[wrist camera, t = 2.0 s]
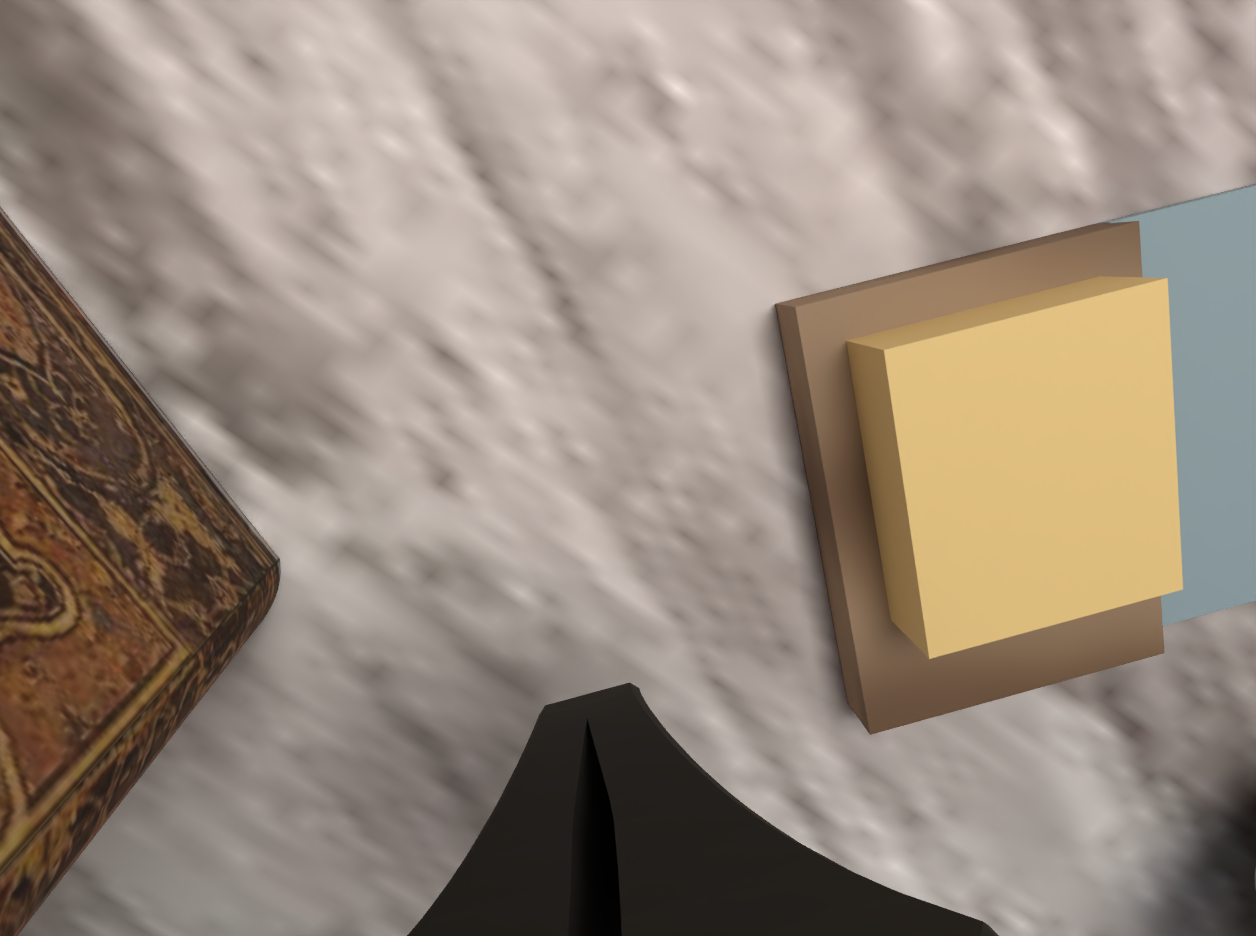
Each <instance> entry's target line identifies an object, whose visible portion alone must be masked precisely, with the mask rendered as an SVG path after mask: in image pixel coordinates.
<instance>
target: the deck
mask: <svg viewBox="0 0 1256 936" xmlns="http://www.w3.org/2000/svg"><path fill="white" fill-rule="evenodd" d="M1100 276H1101V277H1142V260H1141V243H1140V226H1139V221H1131V222H1117V223H1103V224H1093V225H1089V226H1085V227H1081V228H1077V229H1073V230H1069V231H1065V232H1061V233H1057V234H1053V235H1049V236H1045V237H1041V238H1037V239H1033V240H1029V241H1025V242H1021V243H1017V244H1013V245H1009V246H1005V247H1001V248H997V249H993V250H989V251H985V252H981V253H977V254H973V255H969V256H965V257H961V258H957V259H953V260H949V261H945V262H941V263H937V264H933V265H929V266H925V267H921V268H917V269H913V270H909V271H905V272H901V273H897V274H893V275H889V276H885V277H881V278H877V279H873V280H869V281H865V282H861V283H857V284H853V285H849V286H845V287H841V288H837V289H833V290H829V291H825V292H821V293H817V294H813V295H809V296H805V297H801V298H797V299H793V300H789V301H785V302H781V303H777V304H776V309H777V314H778V320H779V325H780V331H781V336H782V342H783V348H784V353H785V359H786V364H787V370H788V375H789V381H790V386H791V392H792V397H793V403H794V408H795V414H796V419H797V425H798V430H799V436H800V441H801V447H802V452H803V458H804V463H805V469H806V474H807V480H808V485H809V491H810V496H811V502H812V507H813V513H814V518H815V524H816V529H817V535H818V540H819V546H820V552H821V557H822V563H823V568H824V574H825V579H826V585H827V590H828V596H829V601H830V607H831V612H832V618H833V623H834V629H835V634H836V640H837V645H838V651H839V656H840V662H841V667H842V673H843V678H844V684H845V689H846V695H847V700H848V704H849V705H850V707H851V708H852V710H853V711H854V713H855V714H856V715H857V717H858V718H859V720H860V721H861V722H862V724H863V725H864V727H865V728H866V730H867V731H868V732H869V734H870V735H871V734H874V733H878V732H881V731H885V730H889V729H892V728H896V727H899V726H903V725H907V724H910V723H914V722H917V721H921V720H925V719H928V718H932V717H935V716H939V715H943V714H946V713H950V712H954V711H957V710H961V709H964V708H968V707H972V706H975V705H979V704H982V703H986V702H990V701H993V700H997V699H1000V698H1004V697H1008V696H1011V695H1015V694H1018V693H1022V692H1026V691H1029V690H1033V689H1036V688H1040V687H1044V686H1047V685H1051V684H1054V683H1058V682H1062V681H1065V680H1069V679H1072V678H1076V677H1080V676H1083V675H1087V674H1091V673H1094V672H1098V671H1101V670H1105V669H1109V668H1112V667H1116V666H1119V665H1123V664H1127V663H1130V662H1134V661H1137V660H1141V659H1145V658H1148V657H1152V656H1155V655H1159V654H1163V653H1164V640H1163V623H1162V606H1161V596H1158V597H1154V598H1150V599H1147V600H1143V601H1139V602H1136V603H1132V604H1128V605H1125V606H1121V607H1117V608H1114V609H1110V610H1106V611H1103V612H1099V613H1095V614H1092V615H1088V616H1085V617H1081V618H1077V619H1074V620H1070V621H1066V622H1063V623H1059V624H1055V625H1052V626H1048V627H1044V628H1041V629H1037V630H1033V631H1030V632H1026V633H1022V634H1019V635H1015V636H1011V637H1008V638H1004V639H1001V640H997V641H993V642H990V643H986V644H982V645H979V646H975V647H971V648H968V649H964V650H960V651H957V652H953V653H949V654H946V655H942V656H938V657H935V658H931V659H929V658H928V657H927V656H926V655H925V654H924V653H923V652H922V651H921V650H920V649H919V648H918V647H917V646H916V645H915V644H914V643H913V642H912V641H911V640H910V639H909V638H908V637H907V636H906V635H905V634H904V633H903V632H902V631H901V630H900V629H899V628H898V627H897V626H896V625H895V624H894V623H893V622H892V621H891V618H890V612H889V606H888V599H887V593H886V587H885V580H884V574H883V568H882V562H881V555H880V549H879V543H878V537H877V530H876V524H875V518H874V512H873V505H872V499H871V493H870V487H869V480H868V474H867V468H866V461H865V455H864V449H863V443H862V436H861V430H860V424H859V418H858V411H857V405H856V399H855V393H854V386H853V380H852V374H851V368H850V361H849V355H848V349H847V343H846V341H848V340H852V339H855V338H859V337H863V336H867V335H871V334H875V333H879V332H883V331H887V330H891V329H895V328H899V327H903V326H907V325H911V324H915V323H919V322H923V321H927V320H930V319H934V318H938V317H942V316H946V315H950V314H954V313H958V312H962V311H966V310H970V309H974V308H978V307H982V306H986V305H990V304H994V303H998V302H1002V301H1005V300H1009V299H1013V298H1017V297H1021V296H1025V295H1029V294H1033V293H1037V292H1041V291H1045V290H1049V289H1053V288H1057V287H1061V286H1065V285H1069V284H1073V283H1076V282H1080V281H1084V280H1088V279H1092V278H1096V277H1100Z"/></svg>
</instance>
